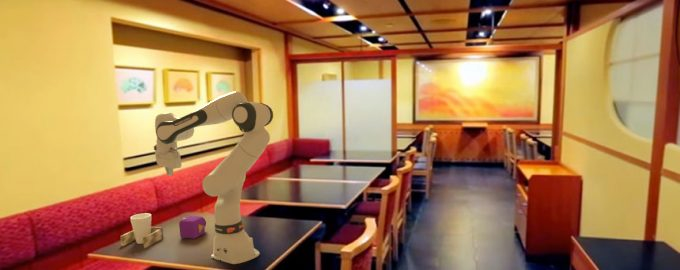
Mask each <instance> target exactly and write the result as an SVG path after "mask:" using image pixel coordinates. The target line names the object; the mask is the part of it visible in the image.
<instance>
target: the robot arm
mask: <svg viewBox="0 0 680 270" xmlns="http://www.w3.org/2000/svg"><path fill="white" fill-rule="evenodd" d="M273 118H274V112H273V109H272V108H271V107H270V106H269V105H267V104H265V103H262V102H255V101H248V100H247V97H246V95H244V94H243V92H241V91H231V92H229V93H225V94H223V95H221V96H219V97H217V98H215V99H212V100H211V101H210V102H208V103H206V104H205V105H203V106H201V107H200V108H198V109H196V110H194V111H192V112H190V113H188V114H186V115H183V116H182V117H178V116H176V115H175V114H174V113H172V112H165V113H160V114H157V115H156V117H155V119H154V127H155V135H156V144H155V145H153V150H154V155H155V161H156V164H157V165H158V166H162V167H164V169H165V172H166V175H167V176H168V177H172V176H174V169H179V168H180V169H181V168H182V158H181V154H180V152H179V151H178V142H180V141H186V140H188V139H191V138H192V137H193V136H194V133H195V129H196V128H198V127H202V126H212V125H217V124H223V123H226V122H229V121H231V120H233V122H234V124H235V125H236V126H237V127H238V128H239V130H240V131H241V132H244V134H243V136H242V137H241V138H240V140H239V141H238V142H237V143H236V145H235V146H234V147H233V149H232V150H231V151H230V153H228V155H227V156H226V157H225V158H224V159H223V160H222V161H221V162H219V164H217V165H216V167H215V168H214V169H213V170H212V171H211V172H210V173H208V174H207V175H206V176H205V177H204V178H203V181H202V190H203V191H204V193H205V194H206V195H208V196H209V197H217V200H216V202H215V204H214V219H215V222H214V231H215V235H214V237H213V240H212V241H213V244H212V246H213V248H212V250H213V251H212V252H213V253H212V254H211V255H210V258H211V259H213V258H214V260H217V261H220V260H221V262H224V263H227V264H232V265H237V264H241V263H242V264H243V263H246V262H248V261H251V260H253V259H255V258H258V257H259V256H260V251H259V250H258V249H256V248H255V246H254V240H253V239H254V238H253V237H250V236H249V234H248V233H247V232H246V231H245V229H244V227H245V225H244V223H243V221H242V217H241V198H242V197H241V196H242V190H243V186H244V182H245V181H246V176H247V175H246V173H247V172H248V171H250V169H251V168H252V167H253V165H254V164H255V163H257V160H258V159H259V158H260V157H261V155H262V154H263V153H264V152H265V150H266V148H267V147H268V144H269V143H270V140H271V136H270V133H269V131H268V130H267V129H266V128H265V127H267V126H268V125H270V124H271V123H272V122H273Z"/></svg>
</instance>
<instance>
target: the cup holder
mask: <svg viewBox="0 0 680 270" xmlns="http://www.w3.org/2000/svg"><path fill="white" fill-rule="evenodd" d="M163 228H164V227H161V226H151V233H150V234H149V235H147V236H145V237H143V243H142V244H143V248H144V249H146V248H148V247H150V246H152V245H153V244H156V243H157V242H159V241H161V240H162V239H164V230H163ZM119 237H120V246H121V247H124V246H126V245H129V244H131V243H132V242H134V241H136V239H135V235H134V231H133V229H132V230H131V231H128V232H126V233H124V234H122V235H120V236H119Z"/></svg>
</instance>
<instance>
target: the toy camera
mask: <svg viewBox="0 0 680 270" xmlns="http://www.w3.org/2000/svg"><path fill="white" fill-rule="evenodd" d="M206 225H207V220H206V219H205V218H204V217H203V216H199V215H198V216H197V215H188V216H186V217H183V218H182V219H180V221H179V222H178V227H179V236H180V238H181V239H194V240H195V239H197V238H199V237H200V236H202V235H203V234H205V233H206Z"/></svg>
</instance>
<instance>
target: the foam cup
mask: <svg viewBox="0 0 680 270" xmlns="http://www.w3.org/2000/svg"><path fill="white" fill-rule="evenodd" d="M130 223H131V227H132V230H133V231H134V235H135V239H136V240H135V242H136V244H141V245H142V244H144V243H143V237H145V236H147V235H149V234H150V233H151V227H152V214H151V213H149V212H148V213H147V212H145V213H137V214H134V215H132V216H130Z"/></svg>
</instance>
